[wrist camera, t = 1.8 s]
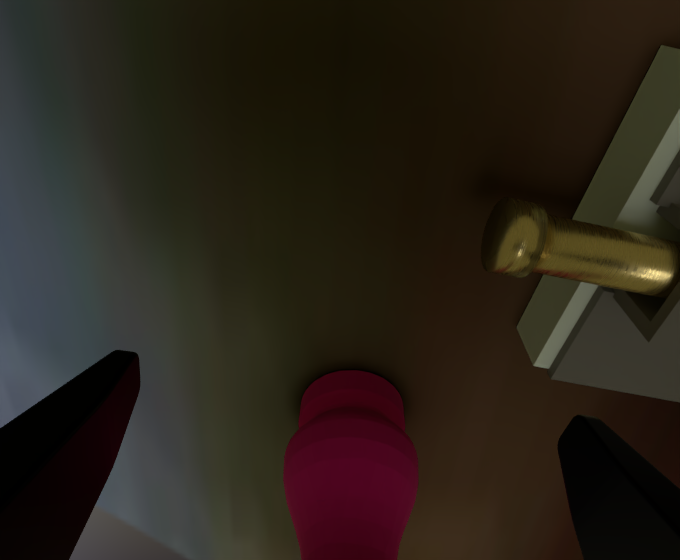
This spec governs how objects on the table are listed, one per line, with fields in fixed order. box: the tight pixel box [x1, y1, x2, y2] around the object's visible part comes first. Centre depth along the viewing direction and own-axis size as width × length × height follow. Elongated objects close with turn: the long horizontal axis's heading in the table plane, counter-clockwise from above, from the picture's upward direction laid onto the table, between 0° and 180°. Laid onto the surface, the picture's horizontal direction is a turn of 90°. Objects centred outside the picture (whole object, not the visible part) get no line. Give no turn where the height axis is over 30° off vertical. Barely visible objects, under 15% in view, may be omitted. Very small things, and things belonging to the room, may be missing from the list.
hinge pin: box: [481, 197, 680, 299], centre depth 18 cm, size 14×3×3 cm, turn 79°
